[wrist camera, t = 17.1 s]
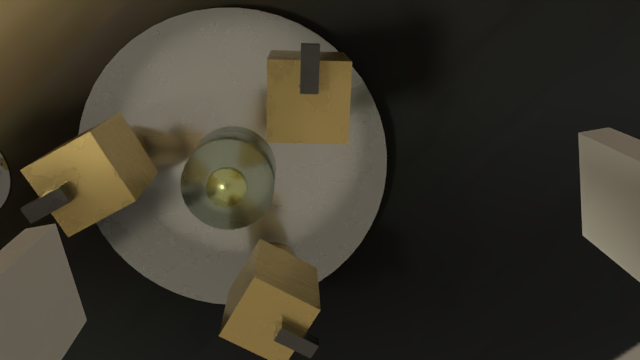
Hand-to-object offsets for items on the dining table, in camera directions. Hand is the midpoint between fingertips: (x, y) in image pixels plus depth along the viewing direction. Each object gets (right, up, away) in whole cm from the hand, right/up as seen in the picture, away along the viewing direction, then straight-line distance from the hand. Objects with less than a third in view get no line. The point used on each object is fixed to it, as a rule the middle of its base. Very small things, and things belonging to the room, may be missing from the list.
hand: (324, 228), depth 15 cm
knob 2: (-1, +8, +26) cm, 27 cm away
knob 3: (-4, -5, +30) cm, 31 cm away
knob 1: (-14, +3, +27) cm, 31 cm away
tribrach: (-6, +2, +29) cm, 30 cm away
